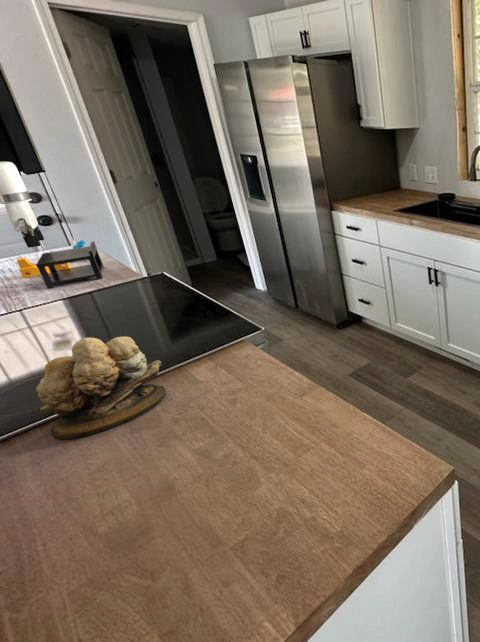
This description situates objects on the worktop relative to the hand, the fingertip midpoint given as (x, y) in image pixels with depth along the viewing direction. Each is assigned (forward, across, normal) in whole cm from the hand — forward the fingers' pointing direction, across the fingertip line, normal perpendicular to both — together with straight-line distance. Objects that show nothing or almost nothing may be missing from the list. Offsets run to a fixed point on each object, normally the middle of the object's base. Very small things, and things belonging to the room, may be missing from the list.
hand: (36, 243), depth 152 cm
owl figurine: (+12, +123, +20) cm, 125 cm away
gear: (+12, -12, +7) cm, 18 cm away
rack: (+12, +15, +8) cm, 21 cm away
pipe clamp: (+12, 0, -1) cm, 12 cm away
